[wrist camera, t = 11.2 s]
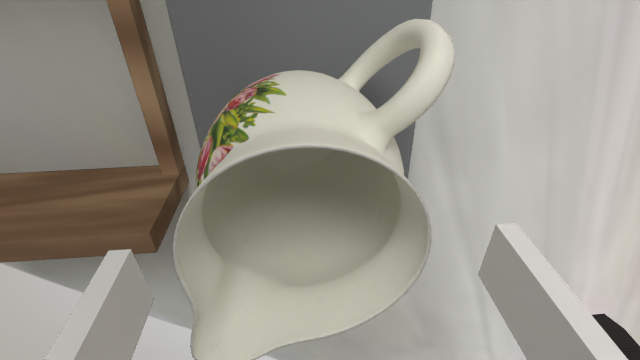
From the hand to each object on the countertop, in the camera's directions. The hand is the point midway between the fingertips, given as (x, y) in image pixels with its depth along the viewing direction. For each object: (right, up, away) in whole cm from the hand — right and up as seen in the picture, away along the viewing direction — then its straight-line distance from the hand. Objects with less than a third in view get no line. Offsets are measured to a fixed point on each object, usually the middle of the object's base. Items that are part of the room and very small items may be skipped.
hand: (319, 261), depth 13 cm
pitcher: (-1, +8, +12) cm, 14 cm away
